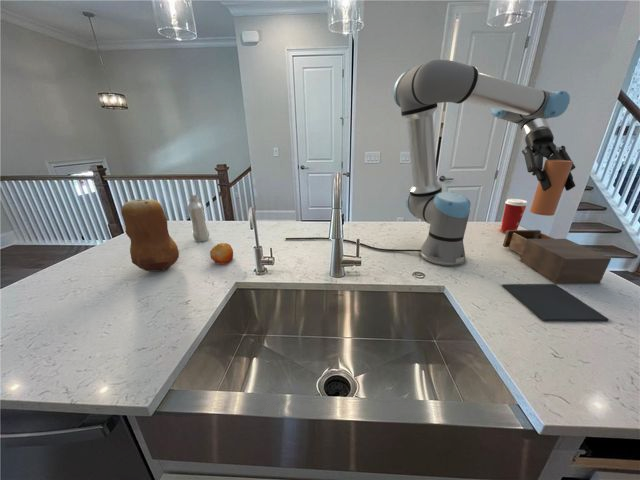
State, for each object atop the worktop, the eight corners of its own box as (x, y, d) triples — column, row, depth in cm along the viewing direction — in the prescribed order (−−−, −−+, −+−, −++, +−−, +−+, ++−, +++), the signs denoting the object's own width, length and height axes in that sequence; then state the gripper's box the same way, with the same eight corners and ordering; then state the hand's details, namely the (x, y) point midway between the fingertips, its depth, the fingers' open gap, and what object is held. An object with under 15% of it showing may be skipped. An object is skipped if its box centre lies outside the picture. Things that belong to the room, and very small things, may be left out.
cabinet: (519, 260, 95) (526, 238, 91) (557, 260, 94) (565, 238, 91) (555, 283, 80) (565, 258, 77) (599, 283, 80) (611, 258, 77)
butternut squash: (174, 256, 101) (158, 192, 91) (186, 268, 92) (170, 199, 82) (132, 269, 92) (109, 199, 82) (141, 283, 83) (117, 207, 73)
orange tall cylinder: (539, 215, 90) (557, 161, 83) (524, 210, 96) (540, 159, 89) (559, 215, 90) (579, 161, 83) (543, 210, 96) (560, 159, 89)
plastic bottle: (213, 239, 117) (205, 195, 109) (199, 244, 112) (190, 198, 104) (204, 236, 120) (196, 193, 112) (191, 241, 115) (181, 196, 107)
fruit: (242, 253, 99) (232, 241, 93) (231, 271, 95) (219, 259, 89) (226, 250, 102) (215, 237, 96) (214, 266, 98) (202, 255, 92)
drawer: (496, 241, 108) (500, 226, 106) (525, 241, 108) (530, 226, 106) (528, 262, 91) (534, 244, 89) (564, 262, 91) (571, 244, 88)
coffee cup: (522, 235, 117) (532, 203, 111) (502, 234, 118) (511, 202, 113) (513, 229, 124) (522, 198, 119) (494, 228, 126) (502, 197, 120)
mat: (543, 321, 65) (543, 319, 64) (502, 285, 79) (502, 284, 79) (607, 320, 64) (608, 319, 64) (554, 285, 79) (555, 284, 79)
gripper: (556, 142, 98) (579, 194, 89) (503, 142, 98) (521, 194, 90) (574, 127, 91) (600, 181, 82) (517, 127, 91) (537, 181, 83)
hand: (559, 188), depth 86 cm, fingers closed on orange tall cylinder, 7 cm apart
